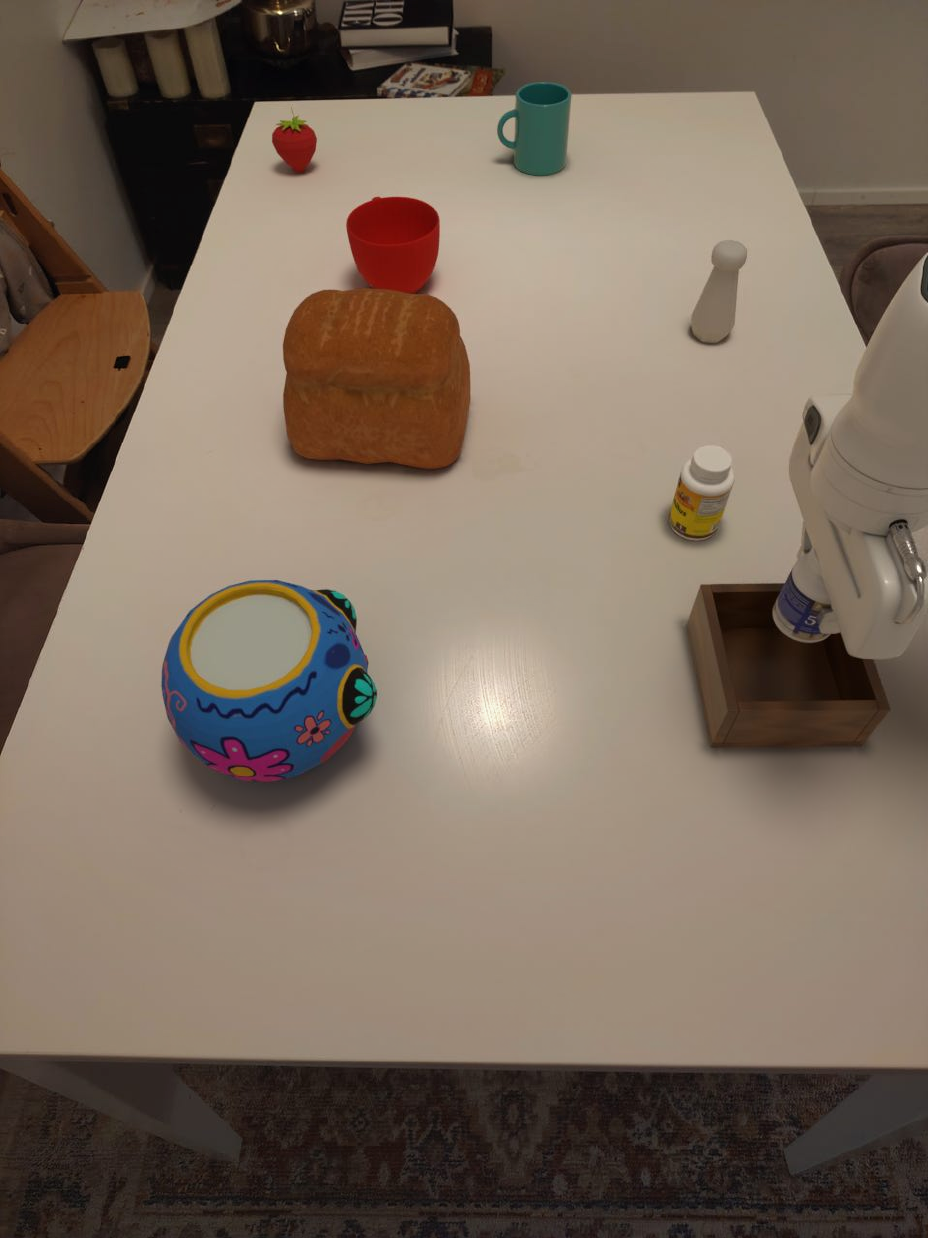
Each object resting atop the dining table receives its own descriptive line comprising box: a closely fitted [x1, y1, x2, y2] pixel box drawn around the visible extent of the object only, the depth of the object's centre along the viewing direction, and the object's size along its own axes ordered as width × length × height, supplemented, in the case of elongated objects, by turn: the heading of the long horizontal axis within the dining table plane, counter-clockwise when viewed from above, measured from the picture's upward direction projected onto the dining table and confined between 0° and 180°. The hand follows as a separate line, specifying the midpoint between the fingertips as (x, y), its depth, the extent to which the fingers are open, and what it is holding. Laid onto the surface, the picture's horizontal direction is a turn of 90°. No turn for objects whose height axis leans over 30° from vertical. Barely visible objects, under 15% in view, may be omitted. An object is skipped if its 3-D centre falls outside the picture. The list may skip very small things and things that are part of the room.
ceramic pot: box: [161, 579, 378, 783], centre depth 73 cm, size 18×18×15 cm
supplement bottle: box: [668, 444, 735, 542], centre depth 89 cm, size 6×6×10 cm
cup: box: [496, 81, 573, 177], centre depth 138 cm, size 9×12×11 cm
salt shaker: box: [690, 239, 748, 344], centre depth 108 cm, size 6×6×13 cm
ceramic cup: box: [345, 196, 441, 294], centre depth 119 cm, size 13×17×10 cm
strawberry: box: [271, 107, 318, 174], centre depth 138 cm, size 6×8×10 cm
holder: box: [686, 582, 892, 748], centre depth 78 cm, size 14×14×7 cm
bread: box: [282, 287, 472, 470], centre depth 97 cm, size 18×22×17 cm
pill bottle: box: [773, 547, 831, 643], centre depth 69 cm, size 5×5×9 cm
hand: (816, 594), depth 69 cm, fingers closed on pill bottle, 5 cm apart
